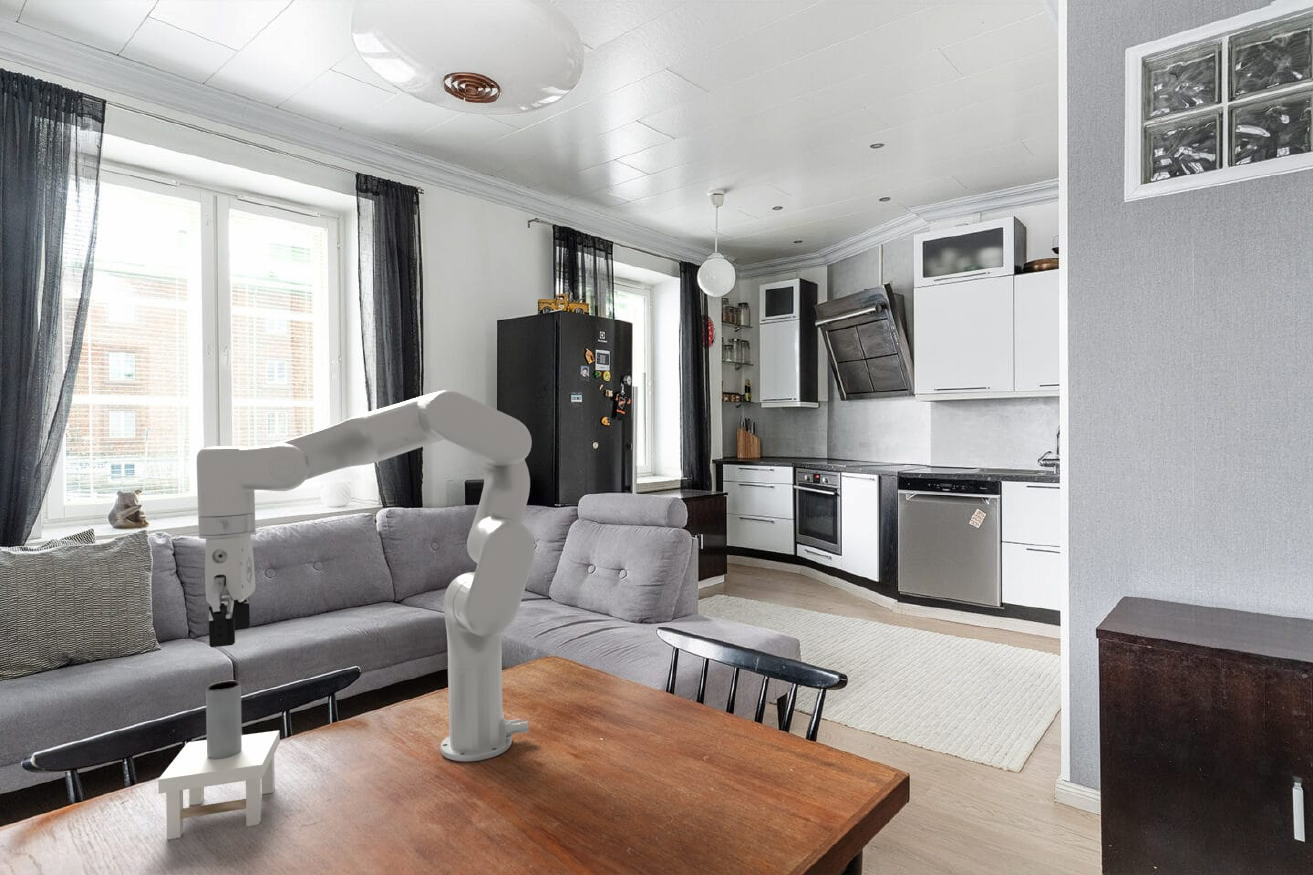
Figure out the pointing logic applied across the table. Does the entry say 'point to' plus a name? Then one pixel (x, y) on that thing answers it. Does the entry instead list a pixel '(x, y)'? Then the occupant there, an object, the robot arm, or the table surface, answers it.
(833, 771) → the table surface
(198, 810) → the stool
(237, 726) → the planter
